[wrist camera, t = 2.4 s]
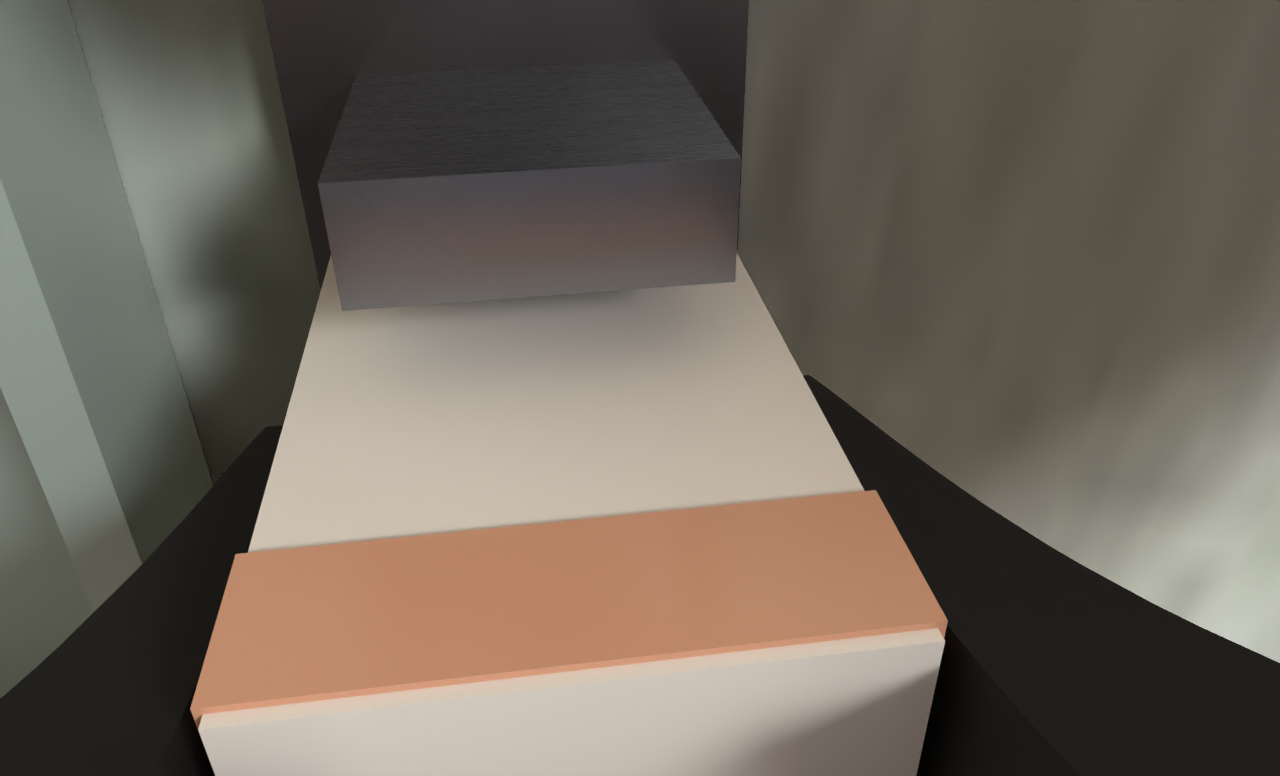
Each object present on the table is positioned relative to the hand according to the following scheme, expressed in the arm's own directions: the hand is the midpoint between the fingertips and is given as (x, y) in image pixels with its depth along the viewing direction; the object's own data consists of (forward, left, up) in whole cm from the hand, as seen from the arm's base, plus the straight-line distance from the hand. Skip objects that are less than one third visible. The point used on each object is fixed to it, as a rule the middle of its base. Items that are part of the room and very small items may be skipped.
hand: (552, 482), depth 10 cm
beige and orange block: (0, 0, -2) cm, 2 cm away
